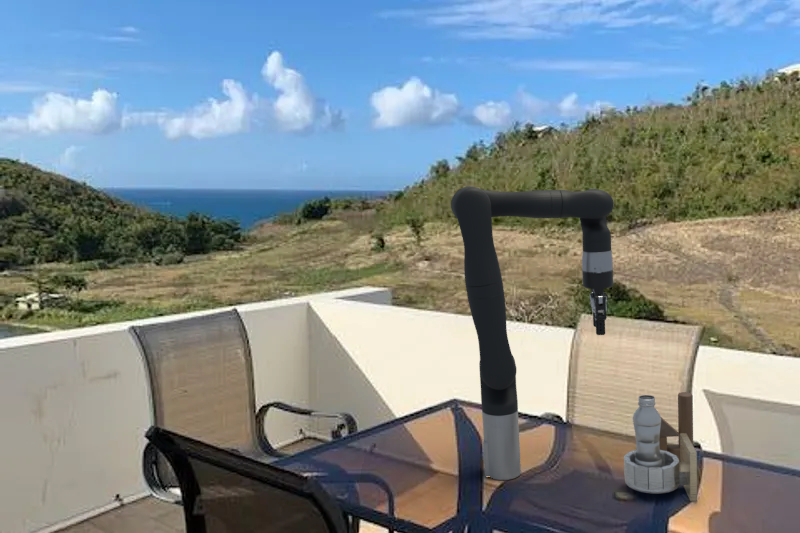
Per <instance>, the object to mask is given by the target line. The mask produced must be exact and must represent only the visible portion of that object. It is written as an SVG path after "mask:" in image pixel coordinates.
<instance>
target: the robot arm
mask: <svg viewBox="0 0 800 533" xmlns="http://www.w3.org/2000/svg"><path fill="white" fill-rule="evenodd" d="M450 208H451V212H452V214H453V215H454V216H455V218H456V219H457V222H458V225H459V229H460V233H461V234H460V235H461V237H462V242H463V248H464V260H463V262H464V263H463V265H464V266H463V268H464V270H463V271H464V281H465V282H464V284H465V290H466V296H467V301H468V306H469V310H470V313H471V318H472V321H473V324H474V328H475V331H476V335H477V339H478V349H479V350H478V352H479V380H480V381H479V382H480V383H479V384H480V401H481V414H482V416H481V417H482V433H483V437H482V438H483V441H482V447H483V448H482V449H483V467H484V468H483V469H484V477H485V476H490V477H491V478H490V479H492V478H493V480H499V481H508V480H512V479H515V478H518V477H519V476H520V475H521V474H522V469H521V468H522V467H521V466H522V464H521V449H520V448H521V447H520V424H519V407H518V406H519V405H518V404H519V403H518V392H517V365H516V361H515V358H514V356H513V354H512V350H511V346H510V342H509V338H508V331H507V329H508V328H507V311H506V297H505V291H504V289H505V288H504V284H503V277H502V273H501V269H500V262H499V259H498V256H497V255H498V254H497V252H496V251H497V250H496V247H495V244H494V243H495V242H494V235H493V224H492V219H493V218H497V217H519V218H529V219H566V218H577V219H579V221H580V222H579V223H580V228H581V232H582V258H581V264H582V265H581V267H582V269H581V270H582V271H581V272H582V286H583V287H584V288H585V289H590V290H591V291H590V292H591V293H589V300H590V307H591V311H592V324H593V327H595V333H596V335H597V336H605V335H606V320H607V318H608V316H607V310H608V307H607V302H608V300H607V299H608V295H607V293H606V292H604V290H605V289H609V288H612V287H613V286H614V265H613V263H614V261H613V253H612V235H611V231H610V229H609V227H608V224H607V216H608V215H610V214H611V213H612V211H613V209H614V199H613V197H612V196H611V194H610V193H608V192H607V191H606V190H602V189H597V188H589V189H587V190H573V191H572V190H565V189H549V190H548V189H545V190H544V189H539V190H525V191H498V190H497V191H495V190H488V189H481V188H480V187H476V186H465V187H462V188H460V189H458V190H457V191H456V192H455V193H454V194H453V196H452V198H451V202H450Z"/></svg>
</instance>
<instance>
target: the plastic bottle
mask: <svg viewBox="0 0 800 533" xmlns="http://www.w3.org/2000/svg"><path fill="white" fill-rule="evenodd" d="M655 401H656V397H655V396H654V395H650V394H642V395H639V396H638V401H637V405H638V407H637V409H636V410H635V412H634V413H633V415H632V424H633V429H634V435H635V436H634V437H635V450H636V457H635V462H634V463H635V464H637V465H640V466H645V467H663V463H662V459H661V454H660V446H659V440H660V427H661V417H662V416H661V414H660V413H659V412H658V410H657V408H655V406H656V402H655ZM660 416H661V417H660Z"/></svg>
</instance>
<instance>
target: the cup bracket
mask: <svg viewBox="0 0 800 533" xmlns="http://www.w3.org/2000/svg"><path fill="white" fill-rule="evenodd" d="M660 454H661V459H662V463H663V467H645V466H640V465H637V464H635V463H634V462H635V457H636V449H634V450H630V451H628V452H627V453H626V454H625V455H624V456H623V471H624V472H623V473H624V474H623V475H624V482H625V485H626V486H628V488H630V489H632V490H634V491H637V492H640V493H644V494H645V493H646V494H652V495H653V494H654V495H657V494H666V493H671V492H674V491H675V490H677V489H678V488H679V486H683V488H684V490H685V493H686V494H687V496H688V499H689V501H690V502H693V503H694V502H695V503H696V502H698V457H697V456H698V452H697V450H696V448H695V447H694V444H693V445H692V443H691V441H690V439H689V437H688V436H687V434H686V433H680V462H679V459H678V457H677V456H676V455H674V454H672V453H670V452H667V451H663V450H660Z"/></svg>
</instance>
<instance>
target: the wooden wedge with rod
mask: <svg viewBox="0 0 800 533" xmlns="http://www.w3.org/2000/svg"><path fill="white" fill-rule="evenodd" d="M693 396H694V395H693V393H691V392H687V391H681V392H678V394H677V422H678V426H677V427H678V430H677V429H676V428H674V427H673V426H672V425H671V424H670V423H669V422H668V421H667V420H665V419H664V418H663V417H662V416H661V415H660V417H661V427H660V440H659V446H660V450H663V451H667V452H670V453H672V454H674V455H676V456H677V457H678V459H679V463H680V433H686V434H687V436H688V437H689V439H690V441H691V443H692V445H693V446H694V407H693V406H694V405H693V402H694V401H693V399H694V398H693ZM669 437H670V438H671V437H678V444H668V438H669Z"/></svg>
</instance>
